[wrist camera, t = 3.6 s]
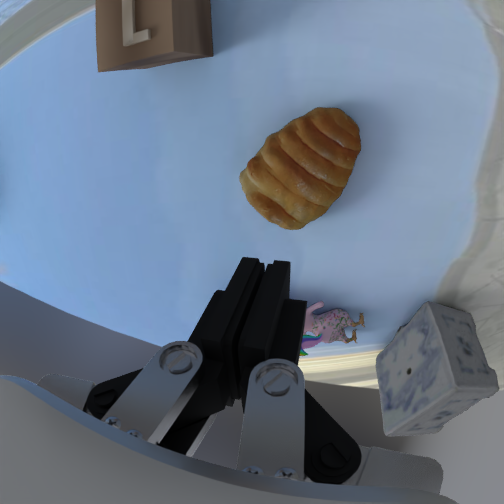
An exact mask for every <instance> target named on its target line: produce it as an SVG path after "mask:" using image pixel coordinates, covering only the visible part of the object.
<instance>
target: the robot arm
mask: <svg viewBox="0 0 504 504" xmlns="http://www.w3.org/2000/svg"><path fill="white" fill-rule="evenodd" d="M289 291H290V262H288V261H278V260H274V263H273V264H268V265H267V268H266V270H265V266H264V263H260V262H259V259H258V258H248V257H243V258H242V259H241V261H240V263H239V265H238V267H237V269H236V271H235V273H234V275H233V276H232V278H231V280H230V282H229V284H228V286H227V288H226V290H225V291H222V290H217V291H216V292H215V293H214V295H213V296H212V298H211V300H210V302H209V304H208V305H207V307H206V309H205V311H204V313H203V314H202V316H201V318H200V320H199V322H198V323H197V325H196V327H195V329H194V331H193V332H192V334H191V336H190V338H189V340H188V341H187V342H186V341H175V342H171V343H169V344H167V345H165V346H163V347H162V348H161V349H160V350H159V351H158V352H157V353H156V354H155V355H154V356H153V358H152V359H151V360H150V361H149V362H148V364H147V365H146V366H145V367H144V368H142V369H140V370H137V371H134V372H131V373H128V374H125V375H122V376H120V377H117V378H114V379H111V380H108V381H105V382H102V383H100V384H98V385H95V383H94V382H92V381H86V380H81V379H76V378H72V377H67V376H62V375H58V374H48V375H45V376H44V377H43V378H41V380H40V381H39V382H38V384H37V385H36V384H34V383H32V382H30V381H28V380H26V379H23V378H19V377H14V376H7V375H0V504H459V503H457V502H456V501H454V500H452V499H450V498H448V497H446V496H443V495H440V494H439V493H440V489H441V484H442V481H443V470H442V467H441V465H440V464H439V463H438V462H437V461H436V460H435V459H432V458H429V457H423V456H417V455H412V454H406V453H400V452H396V451H391V450H387V449H382V448H378V447H374V446H372V447H371V448H367V447H363V446H359V445H358V444H357V443H356V442H355V440H354V439H352V437H351V436H349V434H348V433H347V432H346V431H345V430H344V429H343V428H342V427H341V426H340V425H339V424H338V423H337V422H336V421H335V420H334V419H333V418H332V417H331V416H330V415H329V414H328V413H327V412H326V411H325V410H324V409H323V408H322V406H320V404H319V403H318V402H317V401H316V400H315V399H314V398H313V397H312V396H311V395H310V394H309V393H308V392H307V390H306V389H305V388H304V375H303V372H302V371H301V369H300V368H299V367H298V361H299V356H300V350H301V345H302V339H303V333H304V326H305V318H306V309H307V301H302V300H293V299H289ZM240 398H241V400H242V407H243V413H244V420H243V427H242V434H241V441H240V448H239V454H238V461H237V468H236V470H235V469H231V468H227V467H223V466H220V465H216V464H212V463H209V462H205V461H202V460H198V459H195V458H192V456H193V454H194V453H195V451H196V449H197V448H198V446H199V445H200V443H201V441H202V439H203V438H204V436H205V435H206V433H207V431H208V430H209V428H210V427H211V425H212V423H213V422H214V420H215V418H216V415H217V412H219V411H221V410H224V409H225V406H226V405H227V406H233V404H234V401H235V399H238V400H239V399H240Z"/></svg>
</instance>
